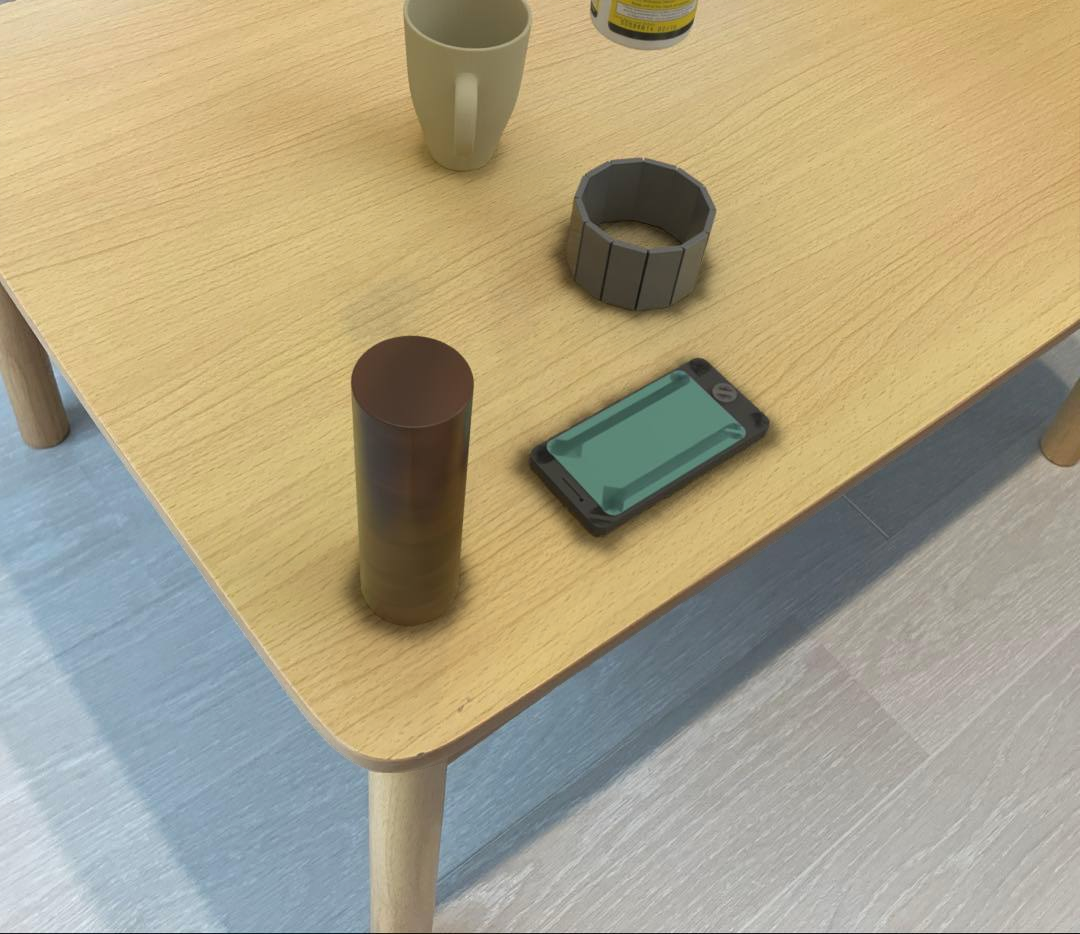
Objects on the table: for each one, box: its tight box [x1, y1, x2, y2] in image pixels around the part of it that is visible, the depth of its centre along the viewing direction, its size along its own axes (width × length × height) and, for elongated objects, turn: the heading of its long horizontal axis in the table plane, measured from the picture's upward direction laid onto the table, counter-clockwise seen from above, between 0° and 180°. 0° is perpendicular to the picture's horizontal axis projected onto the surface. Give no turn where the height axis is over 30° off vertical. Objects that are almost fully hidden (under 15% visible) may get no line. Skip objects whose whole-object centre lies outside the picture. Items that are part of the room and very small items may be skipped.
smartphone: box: [528, 357, 771, 537], centre depth 75 cm, size 7×1×15 cm
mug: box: [402, 0, 533, 172], centre depth 86 cm, size 11×10×12 cm
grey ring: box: [565, 156, 717, 312], centre depth 84 cm, size 10×10×6 cm
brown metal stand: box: [350, 335, 475, 626], centre depth 61 cm, size 6×6×18 cm
